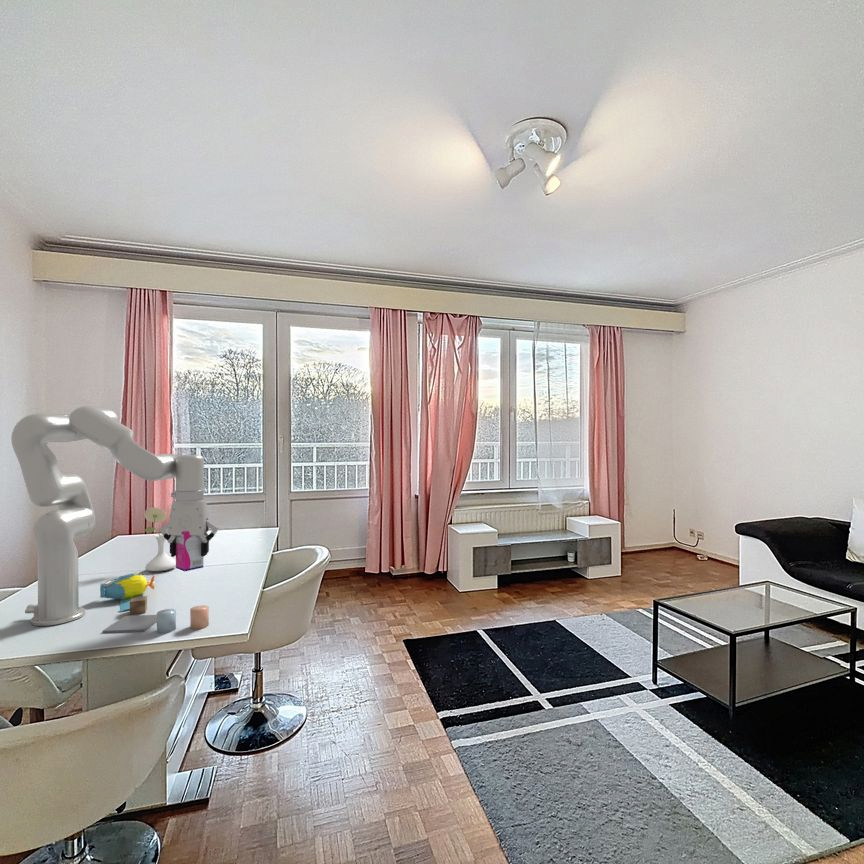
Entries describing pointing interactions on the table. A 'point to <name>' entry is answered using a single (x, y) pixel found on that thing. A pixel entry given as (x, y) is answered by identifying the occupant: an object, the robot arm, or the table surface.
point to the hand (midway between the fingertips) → (189, 555)
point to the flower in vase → (161, 559)
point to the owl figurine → (125, 589)
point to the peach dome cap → (199, 617)
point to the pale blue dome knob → (166, 621)
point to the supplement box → (188, 552)
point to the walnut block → (138, 605)
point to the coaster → (132, 624)
